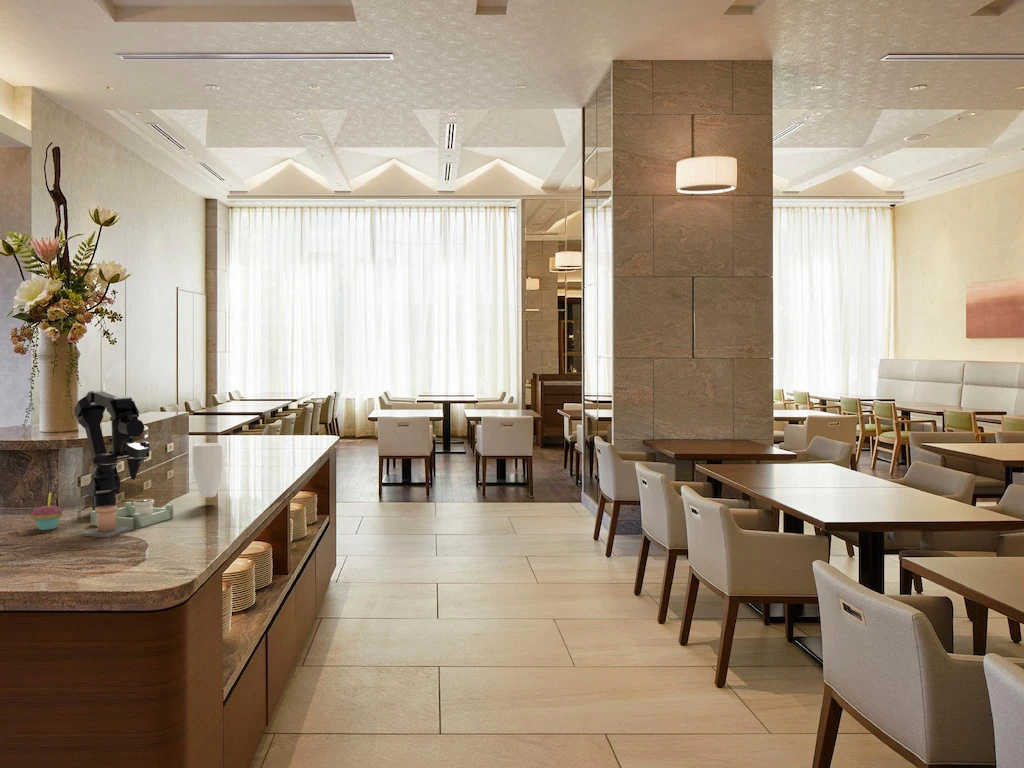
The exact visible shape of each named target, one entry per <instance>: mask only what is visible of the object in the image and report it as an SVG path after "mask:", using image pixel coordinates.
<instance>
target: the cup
mask: <svg viewBox="0 0 1024 768" xmlns="http://www.w3.org/2000/svg"><path fill="white" fill-rule="evenodd" d="M223 453H224V452H223V443H221V442H220V443H219V442H204V443H201V442H200V443H195V444H193V445H192V468H193V471H192V472H193V476H194V480H195V484H196V486H197V489H198V492H199V494H200V496H201V498H214V497H216V496H217V494H218V492H219V487H220V485H221V481H222V475H223V469H224V468H223V467H224V466H223V462H224V461H223V459H224V455H223Z"/></svg>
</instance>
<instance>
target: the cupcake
mask: <svg viewBox="0 0 1024 768" xmlns="http://www.w3.org/2000/svg"><path fill="white" fill-rule="evenodd" d="M47 498H48V499H47V500H48V501H47V505H42V506H39V507H36V508H35V509H33V510H32V511H31V513H30V516H29V517H30V518H31V520H33V521H35V524H36V526H37V528H38V530H39V531H40V530H41V531H43V530H44V531H46V530H49V531H50V530H54V529H56V528H57V527H58V523H59V521H60V518H61V516H62V515H63V510H62V509H61V508H59V506H56V505H51V501H52V491H51V490H50V491H49V493H48V497H47Z"/></svg>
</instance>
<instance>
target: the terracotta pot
mask: <svg viewBox="0 0 1024 768" xmlns="http://www.w3.org/2000/svg"><path fill="white" fill-rule="evenodd" d="M118 509H119V508H118V505H116V504H115V505H106V506H99V507H96V508H95V512H96V513H97V531H98V532H108V531H114V530H116V529H117V523H116V511H117V510H118Z"/></svg>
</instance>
